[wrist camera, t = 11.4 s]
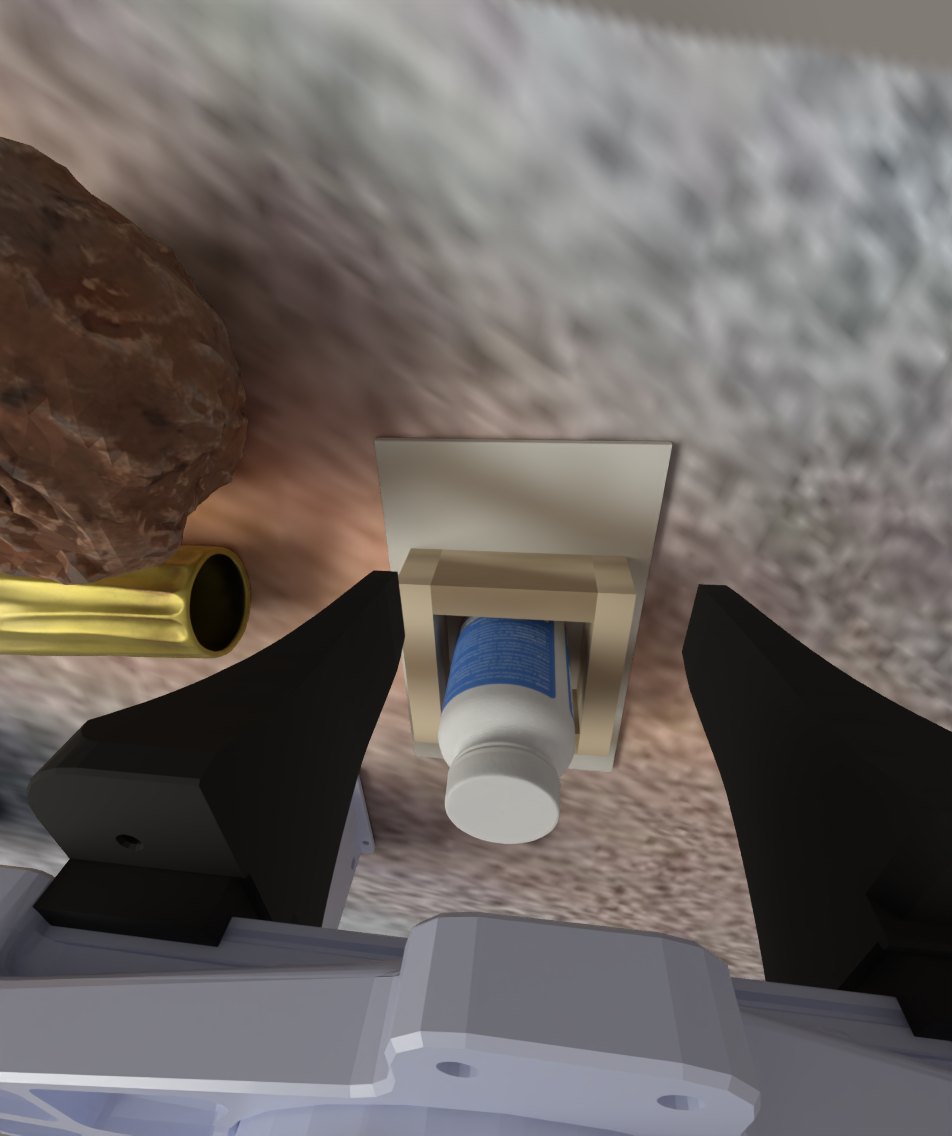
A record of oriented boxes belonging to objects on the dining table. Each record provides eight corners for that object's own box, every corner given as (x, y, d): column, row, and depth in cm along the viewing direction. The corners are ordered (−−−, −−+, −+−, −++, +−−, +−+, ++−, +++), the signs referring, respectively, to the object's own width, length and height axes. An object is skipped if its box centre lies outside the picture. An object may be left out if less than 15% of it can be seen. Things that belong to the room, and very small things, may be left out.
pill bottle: (438, 619, 26) (388, 791, 17) (524, 566, 23) (514, 736, 15) (504, 685, 28) (487, 870, 19) (589, 643, 25) (611, 830, 17)
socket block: (610, 766, 31) (617, 819, 28) (416, 750, 32) (403, 799, 29) (670, 441, 20) (691, 472, 17) (376, 437, 21) (350, 466, 19)
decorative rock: (1, 94, 17) (-550, -67, 8) (323, 255, 18) (132, 256, 10) (26, 444, 24) (-263, 551, 15) (258, 542, 25) (113, 689, 17)
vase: (6, 647, 28) (254, 656, 27) (-136, 669, 22) (177, 681, 21) (9, 537, 28) (257, 541, 27) (-133, 528, 22) (181, 532, 21)
